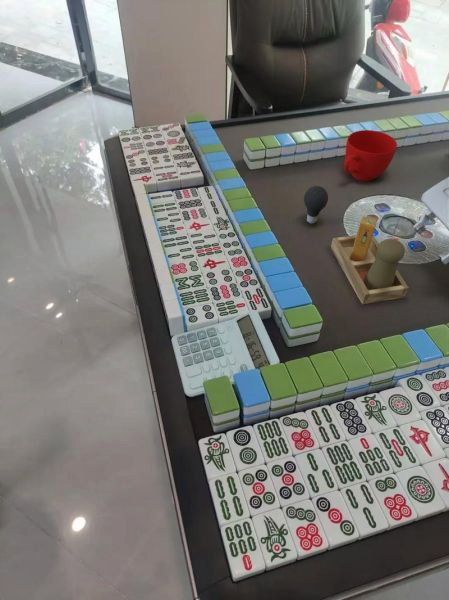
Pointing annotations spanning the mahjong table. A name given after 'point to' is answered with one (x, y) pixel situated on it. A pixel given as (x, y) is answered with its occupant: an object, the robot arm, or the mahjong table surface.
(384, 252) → the olive pawn figure
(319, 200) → the light bulb
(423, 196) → the robot arm
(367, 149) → the ceramic cup
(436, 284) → the mahjong table surface
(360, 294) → the sorting tray
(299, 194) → the mahjong table surface
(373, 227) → the supplement box
